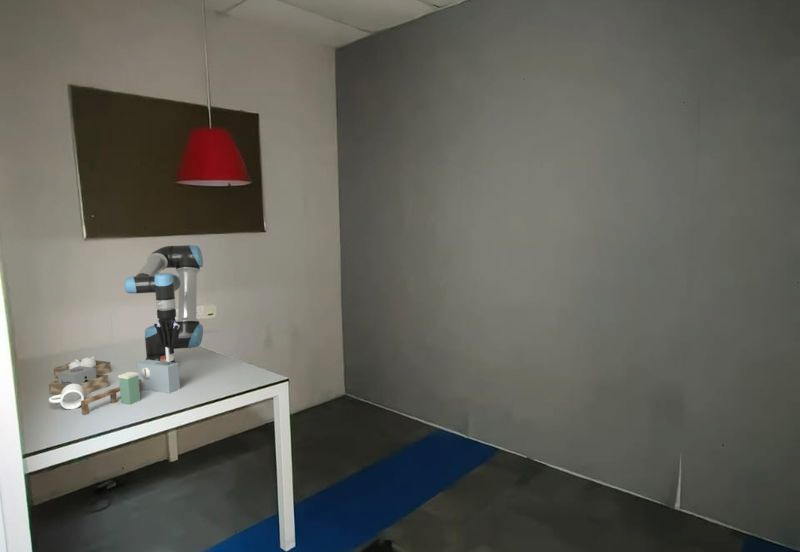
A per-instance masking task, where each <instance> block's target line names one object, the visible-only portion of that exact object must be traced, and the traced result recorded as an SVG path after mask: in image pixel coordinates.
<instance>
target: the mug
mask: <svg viewBox="0 0 800 552" xmlns="http://www.w3.org/2000/svg"><path fill="white" fill-rule="evenodd" d="M82 400H85V395H84V389H83V387H82V386H81V385H79V384H69V385H67V386H66V387H64V389H63V390H62V392H61V394H60V395H53V396H50V397H49V398H48V403H50V404H59V405H60V406H61V407H62V408H63V409H66V410H69V409H72V410H77V409H78V408H79V407H81V401H82Z"/></svg>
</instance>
